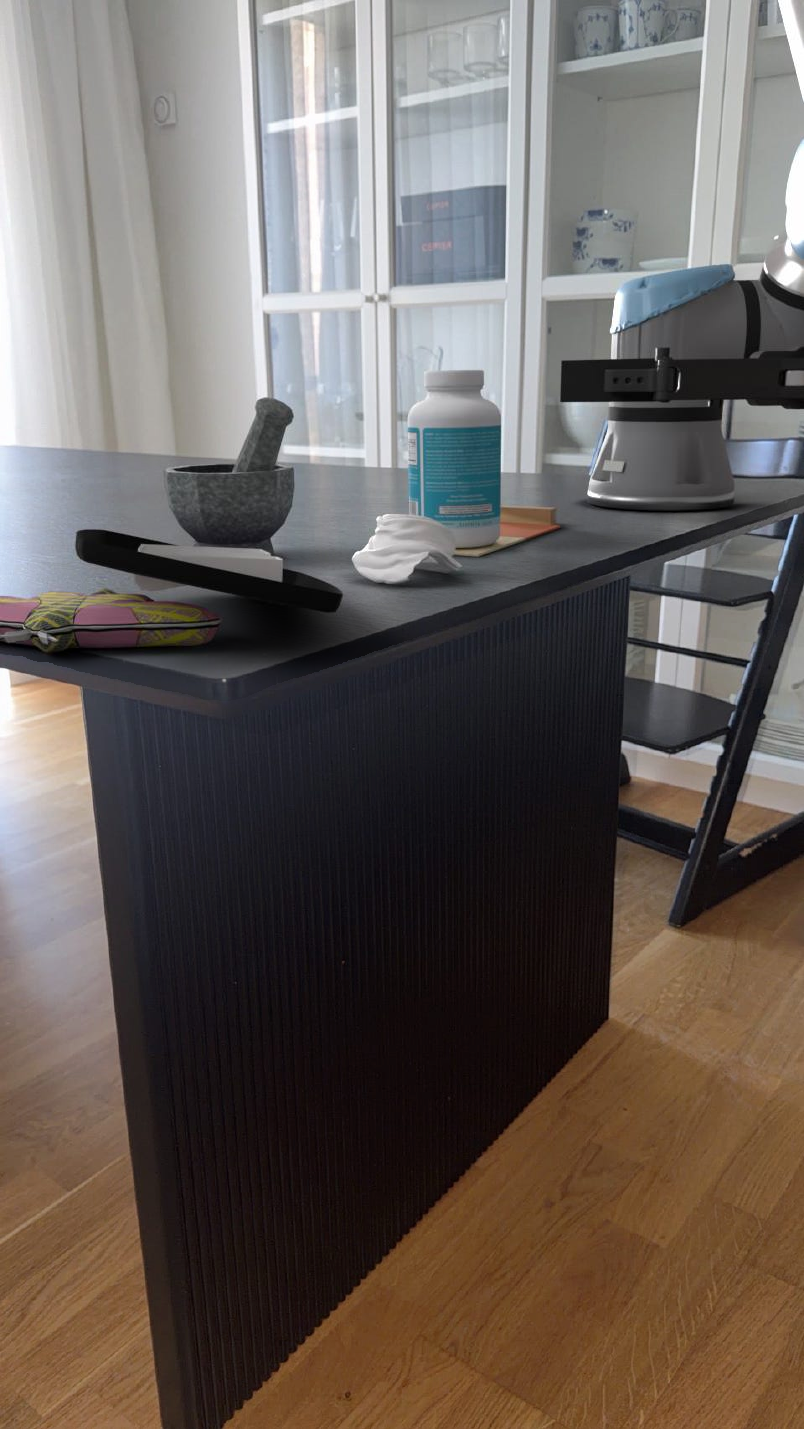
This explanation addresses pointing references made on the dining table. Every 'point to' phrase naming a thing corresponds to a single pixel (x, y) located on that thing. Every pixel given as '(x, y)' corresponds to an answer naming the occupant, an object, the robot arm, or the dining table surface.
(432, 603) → the dining table surface
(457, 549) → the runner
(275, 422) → the mortar and pestle
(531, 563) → the dining table surface
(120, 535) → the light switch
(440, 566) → the white folded cloth ring
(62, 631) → the patterned fabric pouch
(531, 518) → the stop bar
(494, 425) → the pill bottle
